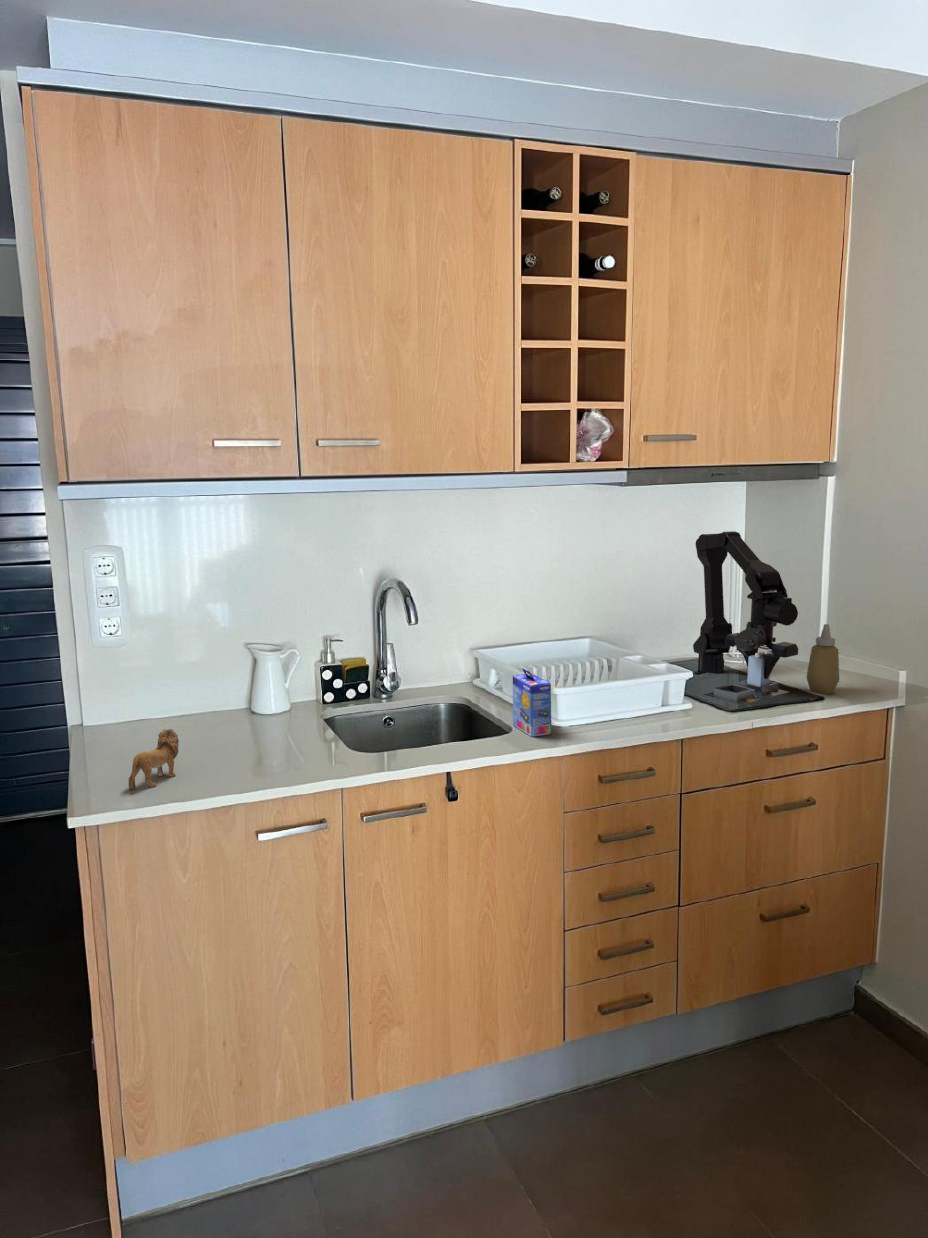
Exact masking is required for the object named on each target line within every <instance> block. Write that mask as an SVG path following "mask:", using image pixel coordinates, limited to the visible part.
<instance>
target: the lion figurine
mask: <svg viewBox="0 0 928 1238" xmlns="http://www.w3.org/2000/svg"><path fill="white" fill-rule="evenodd" d="M157 736H158V738H157V739H158V740H157V745H156V748H154V749H153V750H150V751H144V752H139V753H138V754H136V755H135V756H134V758H133V761H132V768H131V774H130V776H129V777H128V790H131V792H133V793H134V792H135V791H136V789H137V787H136V777H137V775H138V774H139V772H140V770H141V771H142V772H143V774H144V782H145V783H146V784H147V785H148V786H149V787H151V788H154V787H157V783H156V782H152V780H151V775H152V772H153V771H152V770H153V769H157V772H156V775H157V776H158V777H162V776H164V775H165V774H164V772H163V766H164V765H165V764H167V767H168V775H169V777H176V776H177V774H176V773H175V772H174V768H175V761H174V760H175V759H176V758H177V756H178V755H179V740H180V739H179V735H178V734H177V733H176V731H175V730H174V729H172V728H164V729H162V731H159V733H158V734H157Z"/></svg>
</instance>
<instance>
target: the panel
mask: <svg viewBox="0 0 928 1238" xmlns="http://www.w3.org/2000/svg"><path fill="white" fill-rule="evenodd" d="M788 693H789V691H787V690H783V689H780V688H779V682H775V681H771V680H770V684H769V685H765V686H757V685H753V684H748V683H747V679H745V680H741V681H738V684H733V683H729V684H725V685H721V686H719V687H714V689H713V691H712V692H708V693H704V694H702V696H705V697H710V698H713V699H716V700H720V701H724V702H728V703H731V704H735V705H737V706H738V705H739V706H744V705H747V704H752V703H754V702H758V701H761V700H766V699H771V698H773V697H777V696H780V695H784V694H788Z"/></svg>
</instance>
